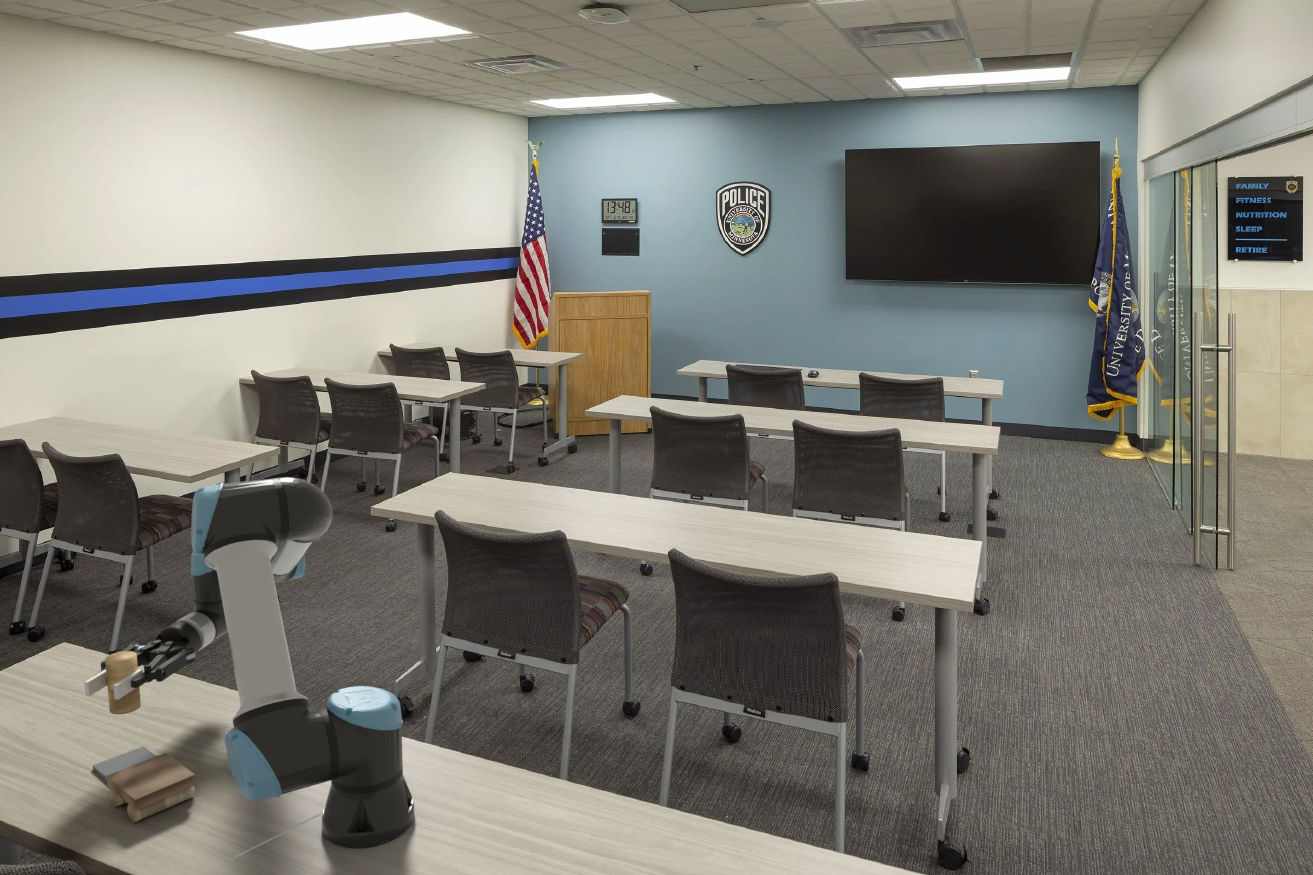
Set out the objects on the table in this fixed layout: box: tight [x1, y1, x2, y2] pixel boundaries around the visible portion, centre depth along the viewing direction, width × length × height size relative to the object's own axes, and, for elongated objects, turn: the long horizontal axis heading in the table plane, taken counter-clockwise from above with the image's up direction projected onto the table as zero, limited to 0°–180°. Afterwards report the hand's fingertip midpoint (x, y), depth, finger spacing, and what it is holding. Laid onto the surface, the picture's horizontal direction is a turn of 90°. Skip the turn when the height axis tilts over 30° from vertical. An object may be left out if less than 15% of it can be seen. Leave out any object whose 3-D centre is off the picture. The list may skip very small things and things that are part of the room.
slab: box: [106, 752, 197, 824], centre depth 161 cm, size 11×10×5 cm
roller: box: [104, 651, 142, 715], centre depth 169 cm, size 5×5×10 cm
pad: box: [92, 745, 157, 782], centre depth 172 cm, size 9×9×1 cm
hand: (101, 690), depth 163 cm, fingers closed on roller, 5 cm apart
